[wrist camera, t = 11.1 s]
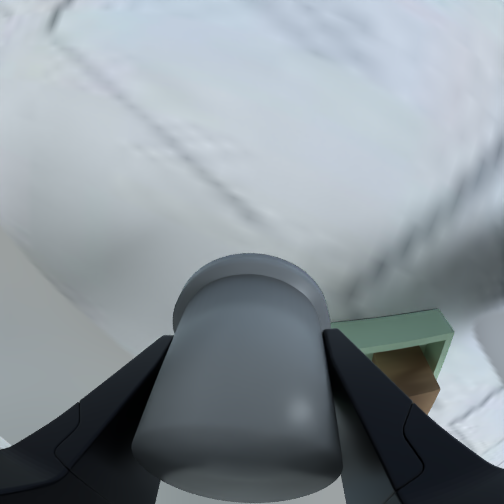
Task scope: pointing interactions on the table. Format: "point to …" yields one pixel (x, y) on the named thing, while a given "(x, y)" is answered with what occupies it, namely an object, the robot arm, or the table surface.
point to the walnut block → (410, 374)
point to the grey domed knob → (244, 387)
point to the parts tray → (402, 335)
